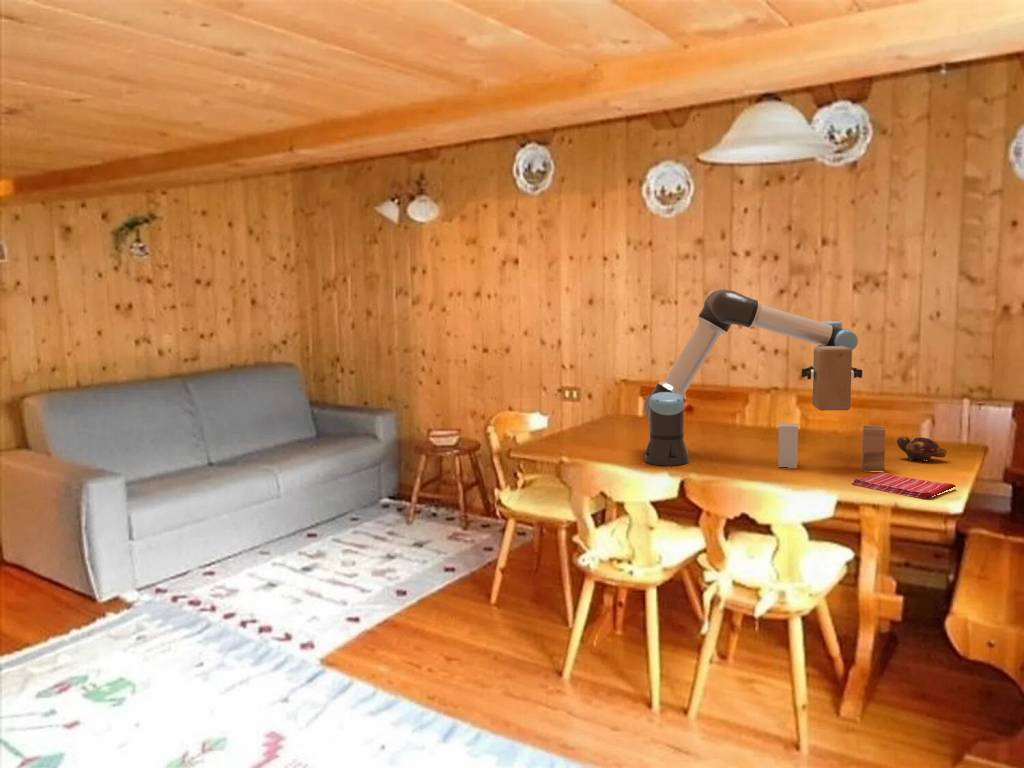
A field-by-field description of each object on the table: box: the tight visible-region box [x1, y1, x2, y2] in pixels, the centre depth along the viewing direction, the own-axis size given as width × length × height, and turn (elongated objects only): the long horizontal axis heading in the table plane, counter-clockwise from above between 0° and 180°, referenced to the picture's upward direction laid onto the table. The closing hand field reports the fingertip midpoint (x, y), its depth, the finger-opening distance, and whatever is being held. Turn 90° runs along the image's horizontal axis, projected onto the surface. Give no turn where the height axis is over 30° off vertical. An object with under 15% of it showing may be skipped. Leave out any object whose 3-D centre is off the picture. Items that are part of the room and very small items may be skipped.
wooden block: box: [812, 345, 853, 411], centre depth 263 cm, size 10×10×20 cm
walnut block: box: [861, 425, 886, 472], centre depth 262 cm, size 6×6×14 cm
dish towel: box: [851, 472, 957, 500], centre depth 241 cm, size 17×24×3 cm
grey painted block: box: [777, 422, 799, 469], centre depth 270 cm, size 6×6×14 cm
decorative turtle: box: [896, 436, 948, 461], centre depth 274 cm, size 10×15×8 cm, turn 68°
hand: (832, 376), depth 259 cm, fingers closed on wooden block, 11 cm apart
